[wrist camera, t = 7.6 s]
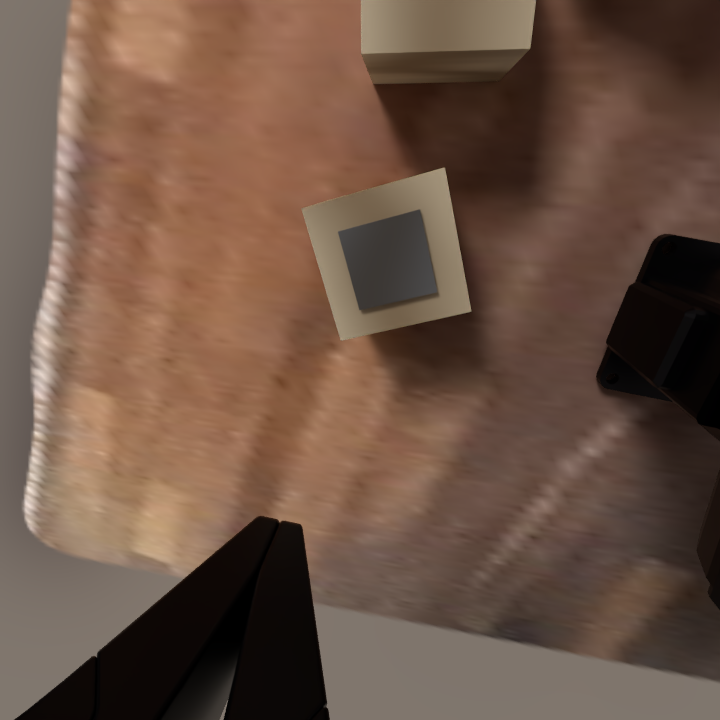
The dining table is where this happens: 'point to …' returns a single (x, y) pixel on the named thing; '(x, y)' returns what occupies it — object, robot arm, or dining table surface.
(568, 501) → the dining table surface
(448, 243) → the labelled block
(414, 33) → the plain block
